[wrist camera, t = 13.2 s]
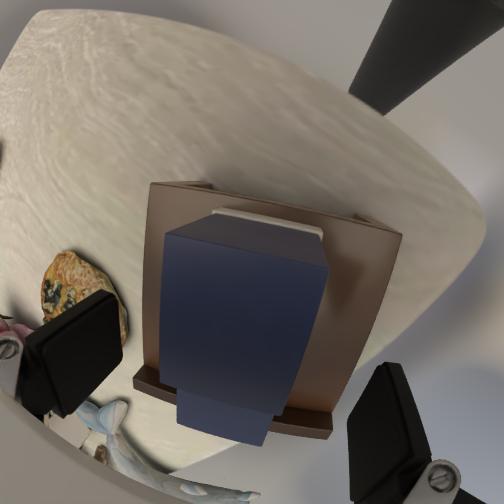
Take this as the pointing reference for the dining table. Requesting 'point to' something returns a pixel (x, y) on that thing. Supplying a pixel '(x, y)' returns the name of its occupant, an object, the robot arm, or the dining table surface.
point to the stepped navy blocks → (237, 318)
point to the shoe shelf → (330, 311)
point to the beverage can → (70, 429)
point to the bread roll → (74, 287)
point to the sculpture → (202, 495)
